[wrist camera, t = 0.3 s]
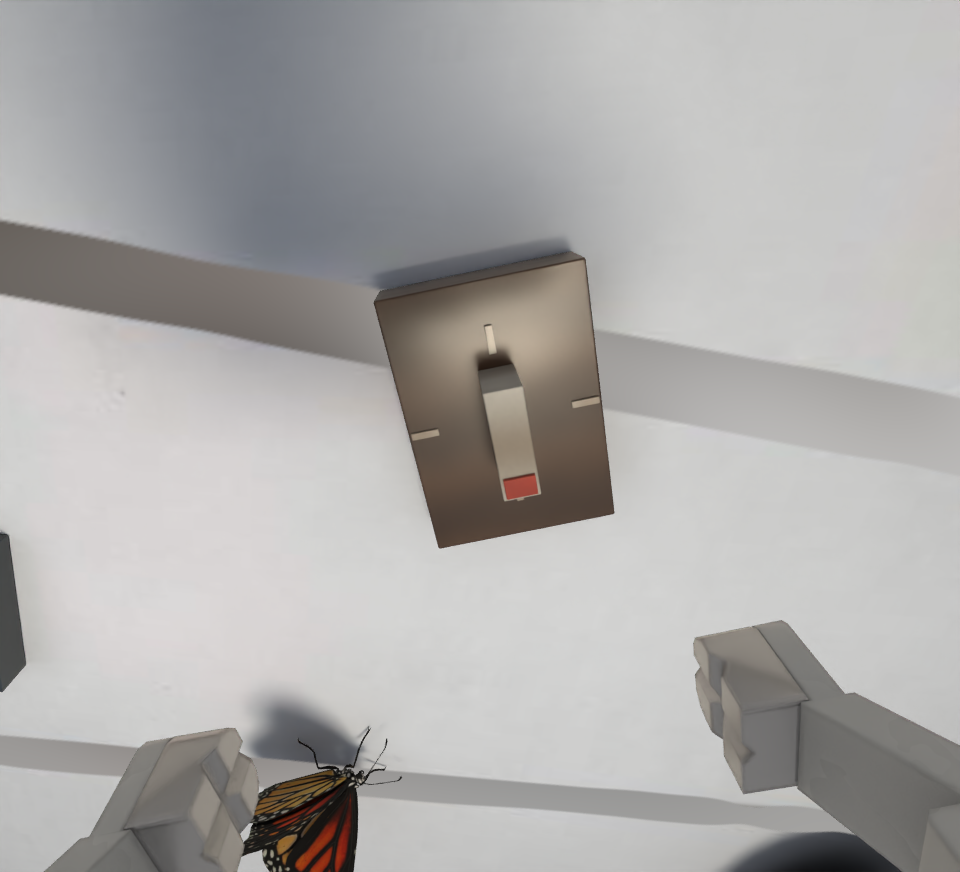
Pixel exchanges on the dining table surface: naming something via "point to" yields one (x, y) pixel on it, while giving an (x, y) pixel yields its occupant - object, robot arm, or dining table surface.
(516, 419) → the dial knob
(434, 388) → the dial panel
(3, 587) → the button box
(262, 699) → the dining table surface
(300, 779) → the butterfly
